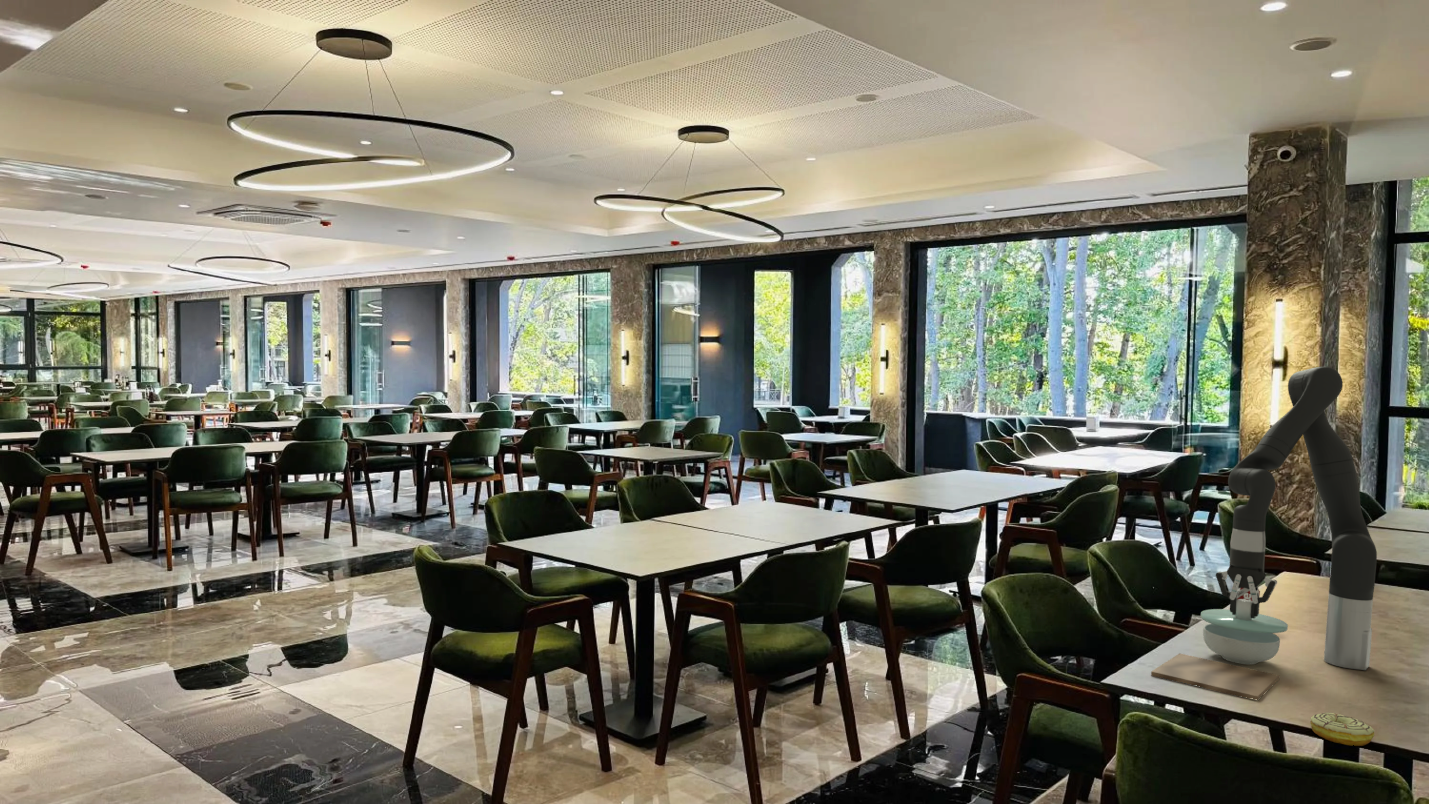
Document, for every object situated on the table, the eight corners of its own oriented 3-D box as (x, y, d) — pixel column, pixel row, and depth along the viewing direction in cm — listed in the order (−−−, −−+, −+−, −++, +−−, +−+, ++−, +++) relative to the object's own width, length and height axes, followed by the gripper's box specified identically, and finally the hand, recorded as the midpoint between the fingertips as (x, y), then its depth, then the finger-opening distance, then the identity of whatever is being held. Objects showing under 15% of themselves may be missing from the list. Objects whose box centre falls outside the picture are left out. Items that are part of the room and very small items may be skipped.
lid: (1294, 623, 240) (1295, 601, 240) (1279, 637, 226) (1280, 614, 226) (1210, 609, 253) (1212, 588, 252) (1192, 621, 238) (1193, 599, 238)
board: (1279, 679, 225) (1279, 675, 225) (1257, 700, 208) (1257, 696, 208) (1179, 657, 239) (1179, 653, 239) (1151, 675, 223) (1151, 671, 223)
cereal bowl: (1186, 651, 245) (1188, 624, 245) (1234, 648, 251) (1236, 621, 251) (1244, 672, 229) (1246, 643, 229) (1294, 668, 235) (1296, 639, 235)
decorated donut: (1365, 733, 192) (1366, 715, 192) (1379, 752, 182) (1381, 733, 182) (1304, 723, 196) (1306, 705, 196) (1316, 742, 186) (1317, 722, 186)
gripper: (1283, 550, 237) (1279, 619, 238) (1220, 542, 246) (1216, 608, 247) (1277, 553, 232) (1272, 624, 232) (1212, 545, 241) (1208, 613, 241)
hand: (1243, 615), depth 239 cm, fingers closed on lid, 3 cm apart
